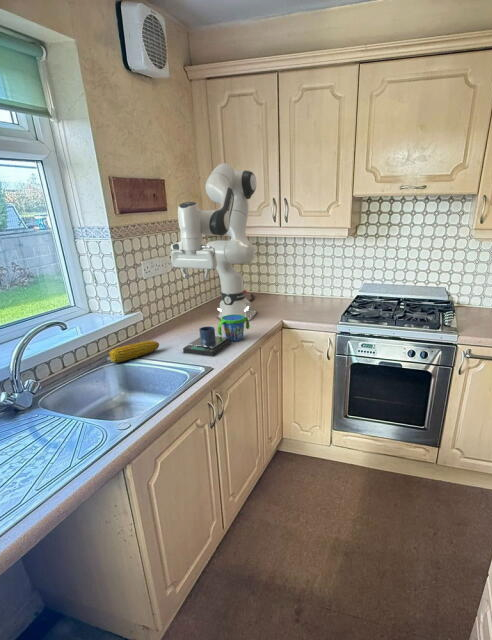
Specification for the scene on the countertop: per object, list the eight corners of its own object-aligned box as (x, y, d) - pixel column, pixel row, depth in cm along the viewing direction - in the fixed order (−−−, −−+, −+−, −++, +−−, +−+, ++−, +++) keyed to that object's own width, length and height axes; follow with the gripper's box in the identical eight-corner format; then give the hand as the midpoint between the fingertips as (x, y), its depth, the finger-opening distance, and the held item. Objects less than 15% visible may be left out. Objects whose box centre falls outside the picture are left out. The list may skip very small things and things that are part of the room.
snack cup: (244, 332, 192) (242, 311, 188) (255, 338, 184) (254, 316, 180) (214, 339, 184) (211, 317, 180) (224, 345, 176) (222, 323, 172)
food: (116, 366, 157) (113, 351, 155) (109, 362, 161) (105, 348, 158) (162, 350, 172) (160, 337, 169) (154, 348, 175) (152, 334, 173)
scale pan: (203, 336, 181) (203, 334, 181) (227, 339, 178) (227, 337, 177) (187, 346, 170) (187, 344, 170) (213, 349, 167) (213, 347, 166)
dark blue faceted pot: (205, 337, 177) (203, 326, 175) (218, 339, 175) (217, 327, 173) (197, 342, 172) (196, 330, 170) (211, 343, 170) (209, 331, 168)
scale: (203, 340, 183) (202, 334, 182) (231, 343, 179) (230, 337, 178) (183, 352, 169) (182, 346, 168) (213, 356, 165) (212, 349, 164)
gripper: (218, 244, 168) (221, 278, 174) (175, 243, 174) (180, 276, 180) (210, 246, 163) (214, 281, 169) (167, 245, 169) (171, 279, 175)
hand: (196, 278), depth 175 cm, fingers open, 8 cm apart
